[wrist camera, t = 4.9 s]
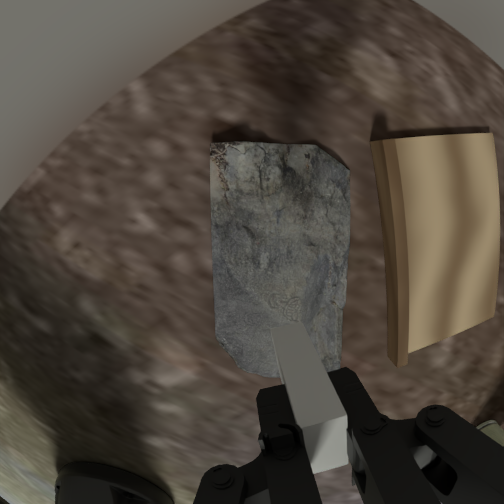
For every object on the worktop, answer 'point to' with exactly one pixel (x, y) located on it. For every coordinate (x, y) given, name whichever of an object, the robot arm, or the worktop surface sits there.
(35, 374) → the worktop surface
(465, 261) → the board
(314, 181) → the stone slab
